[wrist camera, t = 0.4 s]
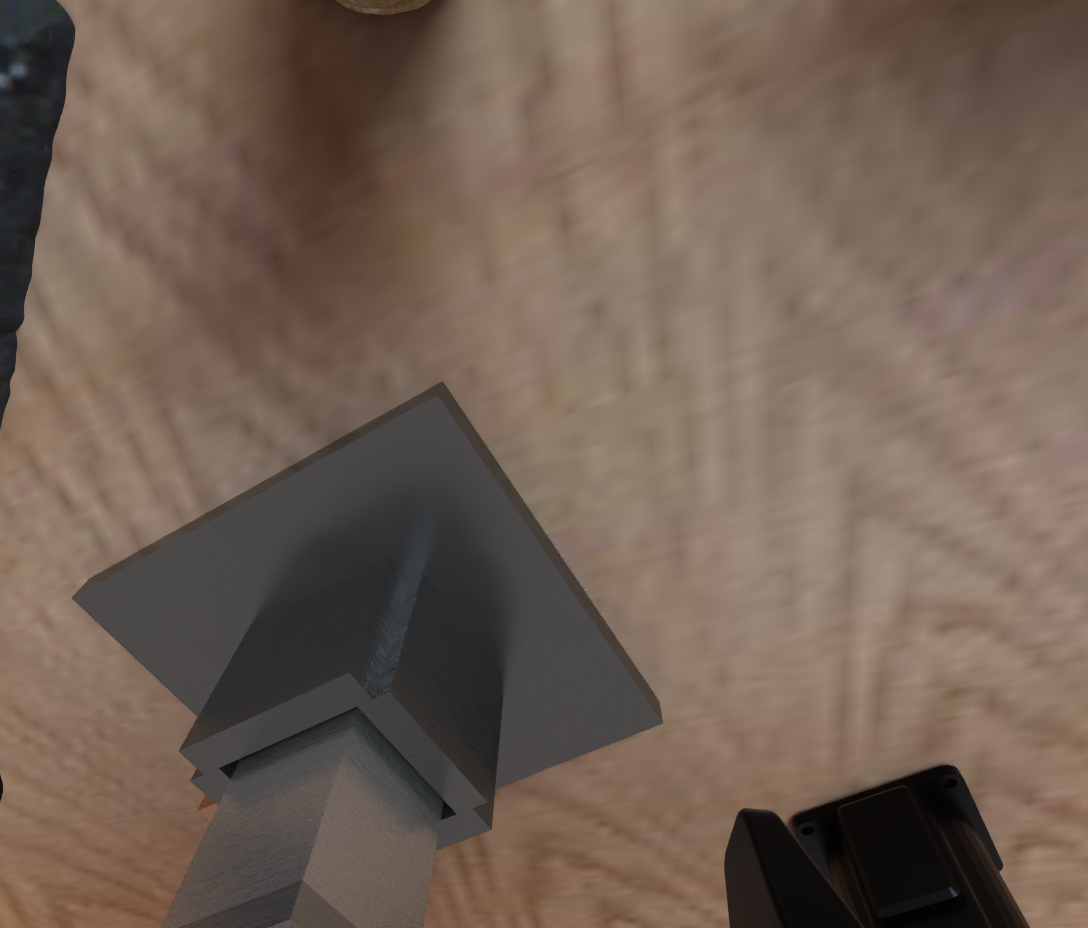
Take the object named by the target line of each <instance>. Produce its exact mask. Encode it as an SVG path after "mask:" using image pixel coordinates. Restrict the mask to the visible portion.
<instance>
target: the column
mask: <svg viewBox="0 0 1088 928" xmlns="http://www.w3.org/2000/svg"><path fill="white" fill-rule="evenodd" d="M443 801H444V800H443V799H442V798H441V797H440V795H439V794H438V793H437V792H436V791H435V790H434V789H433V788H432V787H431V786H430V785H429V784H428V782H427V781H426V780H425V779H424V778H423V777H422V776H421V775H420V774H419V773H418V772H417V771H416V770H415V768H414V767H413V766H412V765H411V764H410V763H409V762H408V761H407V760H406V759H405V758H404V757H403V755H402V754H401V753H400V752H399V751H398V750H397V749H396V748H395V747H394V746H393V745H392V744H391V743H390V741H389V740H388V739H387V738H386V737H385V736H384V735H383V734H382V733H381V732H380V731H379V730H378V728H377V727H376V726H375V725H374V724H373V723H372V722H371V721H370V720H369V719H368V718H367V717H366V715H365V714H364V713H363V712H362V711H361V710H360V709H359V708H358V707H355V708H352V709H350V710H348V711H346V712H343V713H341V714H339V715H337V716H335V717H332V718H330V719H328V720H326V721H323V722H321V723H319V724H317V725H314V726H312V727H310V728H308V729H305V730H303V731H301V732H299V733H296V734H294V735H292V736H290V737H287V738H285V739H283V740H281V741H278V742H276V743H274V744H272V745H269V746H267V747H265V748H263V749H260V750H258V751H256V752H254V753H252V754H249V755H247V756H245V757H243V758H241V759H240V761H239V763H238V765H237V767H236V769H235V771H234V773H233V775H232V778H231V780H230V782H229V784H228V786H227V788H226V790H225V792H224V795H223V797H222V799H221V801H220V803H219V805H218V807H217V809H216V812H215V814H214V816H213V818H212V820H211V822H210V824H209V826H208V828H207V831H206V833H205V835H204V837H203V839H202V841H201V843H200V845H199V848H198V850H197V852H196V854H195V856H194V858H193V860H192V862H191V865H190V867H189V869H188V871H187V873H186V875H185V877H184V879H183V881H182V884H181V886H180V888H179V890H178V892H177V894H176V896H175V898H174V901H173V903H172V905H171V907H170V909H169V911H168V913H167V915H166V917H165V920H164V922H163V924H162V926H161V928H423V926H424V919H425V913H426V907H427V901H428V894H429V888H430V882H431V876H432V870H433V863H434V857H435V851H436V845H437V838H438V832H439V826H440V820H441V814H442V807H443Z"/></svg>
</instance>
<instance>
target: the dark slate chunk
mask: <svg viewBox="0 0 1088 928" xmlns="http://www.w3.org/2000/svg"><path fill="white" fill-rule="evenodd" d="M74 39H75V27H74V25H73V23H72V21H71V19H70V17H69V15H68V13H67V12H66V11H65V9H64V8H63V7H62V6H61V5H60V3H58V2H57V1H56V0H0V428H1V423H2V418H3V414H4V410H5V407H6V404H7V402H8V399H9V396H10V380H11V377H12V375H13V373H14V371H15V363H16V350H17V337H16V332H15V331H16V330H17V329H18V328H19V327H20V325H21V324H22V322H23V320H24V301H25V297H26V293H27V290H28V286H29V283H30V280H31V276H32V262H33V256H34V248H35V238H36V235H37V232H38V229H39V225H40V220H41V212H42V204H43V195H44V186H45V180H46V177H47V173H48V170H49V167H50V164H51V159H52V144H53V138H54V135H55V132H56V129H57V126H58V123H59V120H60V116H61V114H62V111H63V107H64V103H65V97H66V76H67V69H68V64H69V60H70V57H71V53H72V49H73V45H74Z"/></svg>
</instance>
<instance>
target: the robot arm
mask: <svg viewBox="0 0 1088 928" xmlns="http://www.w3.org/2000/svg"><path fill="white" fill-rule="evenodd" d="M2 793H3V782H2V779H1V776H0V801H1V798H2ZM792 825H793V828H794V832H795V835H796V837H797V838H798V840H799V841H800V843H801V844H802V846H803V847H802V846H801V844H800V843H799V842H798V841H797V839H796V838H795V837H794V835H793V834H792V833H791V831H790V830H789V829H788V827H787V826H786V825H785V824H784V822H783V821H782V820H781V818H780V817H779V816H778V815H777V814H775V813H774V812H772V811H769V810H760V809H749V808H744V809H742V810H740V811H739V813H738V815H737V817H736V820H735V824H734V827H733V830H732V833H731V836H730V839H729V843H728V846H727V849H726V853H725V862H724V870H725V882H726V892H727V902H728V912H729V922H730V928H1030V927H1029V925H1028V923H1027V921H1026V919H1025V918H1024V916H1023V914H1022V912H1021V910H1020V909H1019V907H1018V905H1017V903H1016V901H1015V900H1014V898H1013V896H1012V894H1011V893H1010V891H1009V889H1008V887H1007V885H1006V884H1005V882H1004V880H1003V878H1002V876H1001V875H1000V873H999V871H1001V870H1002V868H1003V863H1002V861H1001V859H1000V857H999V854H998V852H997V850H996V848H995V846H994V843H993V841H992V839H991V837H990V835H989V833H988V830H987V828H986V826H985V824H984V822H983V820H982V817H981V815H980V813H979V811H978V809H977V807H976V804H975V802H974V800H973V798H972V796H971V793H970V791H969V789H968V787H967V785H966V783H965V780H964V778H963V777H962V775H961V773H960V772H959V770H958V769H957V768H956V767H954V766H951V765H945V766H941V767H938V768H935V769H932V770H929V771H926V772H923V773H920V774H917V775H914V776H911V777H908V778H906V779H903V780H900V781H897V782H894V783H891V784H888V785H885V786H882V787H879V788H876V789H873V790H870V791H867V792H864V793H861V794H858V795H856V796H853V797H850V798H847V799H844V800H841V801H838V802H835V803H832V804H829V805H826V806H823V807H820V808H817V809H814V810H811V811H809V812H806V813H803V814H800V815H798V816H796V817H795V818H794V819H793V821H792ZM804 849H805V850H804Z"/></svg>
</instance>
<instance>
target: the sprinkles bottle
mask: <svg viewBox="0 0 1088 928" xmlns="http://www.w3.org/2000/svg"><path fill="white" fill-rule="evenodd" d="M335 1H337V2H338V3H340V4H341V5H343V6H344V7H346V8H348V9H351V10H353V11H356V12H360V13H365V14H377V15H390V14H395V13H401V12H406V11H411V10H415V9H418V8H420V7H422V6H424V5H425V4H427V3H428V2H429V1H431V0H335Z"/></svg>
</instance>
